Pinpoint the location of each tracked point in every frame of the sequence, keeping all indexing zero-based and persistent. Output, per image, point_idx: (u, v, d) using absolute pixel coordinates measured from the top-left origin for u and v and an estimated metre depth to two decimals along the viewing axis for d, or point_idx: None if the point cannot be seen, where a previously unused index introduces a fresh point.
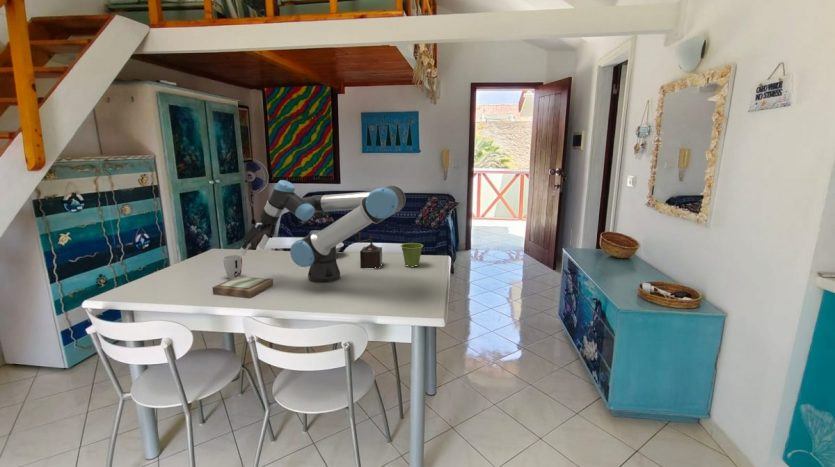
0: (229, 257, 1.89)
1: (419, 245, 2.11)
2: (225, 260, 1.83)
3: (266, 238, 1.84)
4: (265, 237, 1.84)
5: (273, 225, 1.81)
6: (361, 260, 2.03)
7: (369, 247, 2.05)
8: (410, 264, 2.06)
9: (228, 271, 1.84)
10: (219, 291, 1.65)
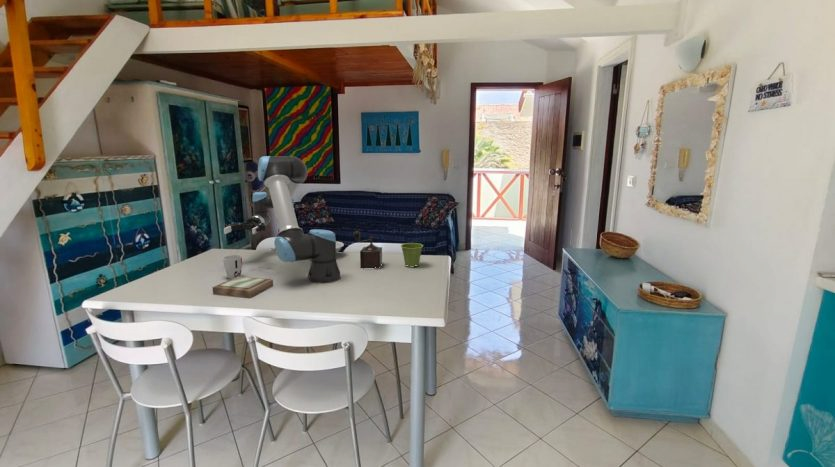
0: (229, 257, 1.89)
1: (419, 245, 2.11)
2: (225, 260, 1.83)
3: None
4: None
5: (261, 225, 2.07)
6: (361, 260, 2.03)
7: (369, 247, 2.05)
8: (410, 264, 2.06)
9: (228, 271, 1.84)
10: (219, 291, 1.65)
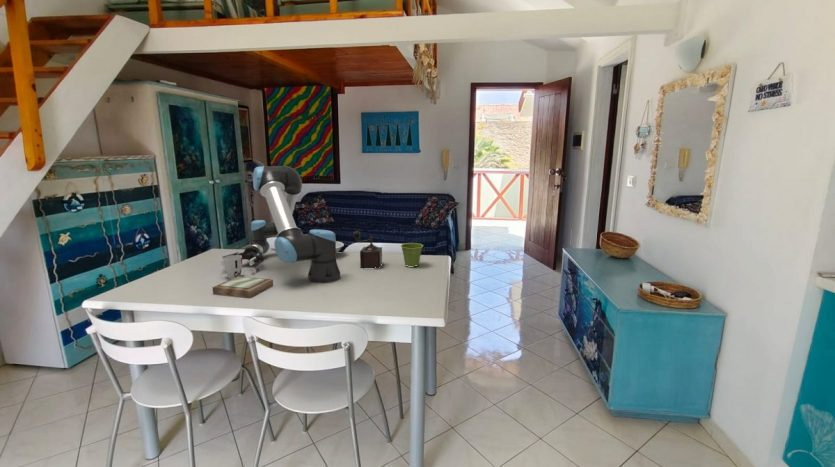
0: (229, 257, 1.89)
1: (419, 245, 2.11)
2: (225, 260, 1.83)
3: None
4: None
5: (259, 254, 2.05)
6: (361, 260, 2.03)
7: (369, 247, 2.05)
8: (410, 264, 2.06)
9: (228, 271, 1.84)
10: (219, 291, 1.65)
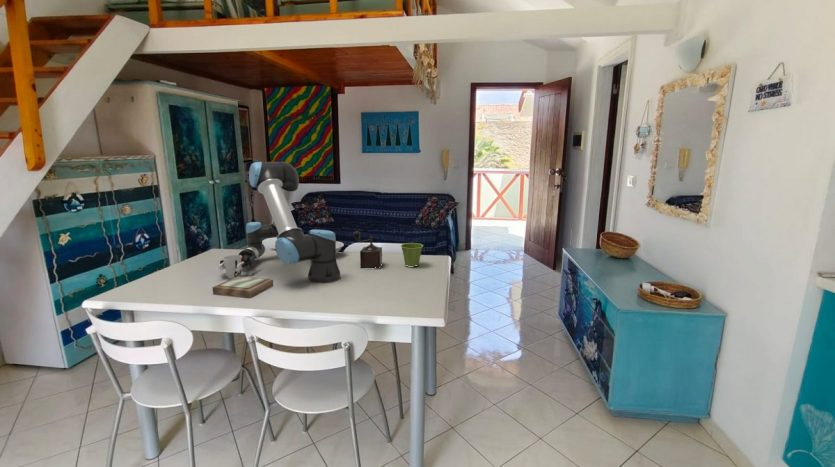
0: (229, 257, 1.89)
1: (419, 245, 2.11)
2: (225, 260, 1.83)
3: None
4: None
5: None
6: (361, 260, 2.03)
7: (369, 247, 2.05)
8: (410, 264, 2.06)
9: (228, 271, 1.84)
10: (219, 291, 1.65)
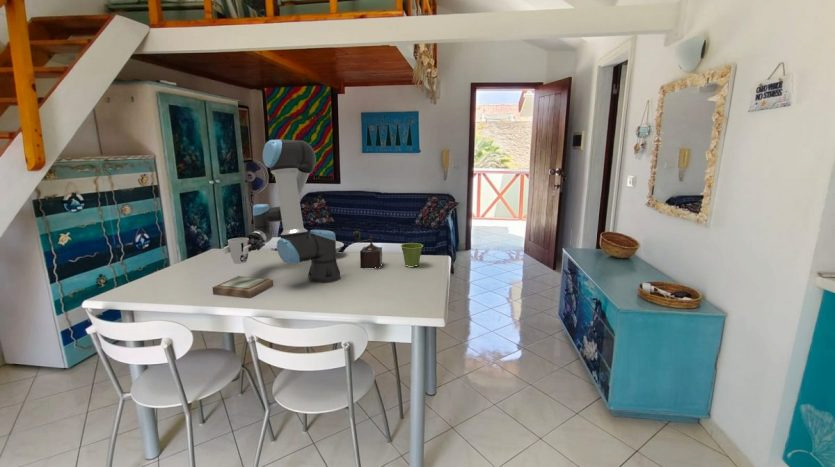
0: (234, 240, 1.72)
1: (419, 245, 2.11)
2: (230, 242, 1.65)
3: None
4: None
5: None
6: (361, 260, 2.03)
7: (369, 247, 2.05)
8: (410, 264, 2.06)
9: (233, 255, 1.67)
10: (219, 291, 1.65)
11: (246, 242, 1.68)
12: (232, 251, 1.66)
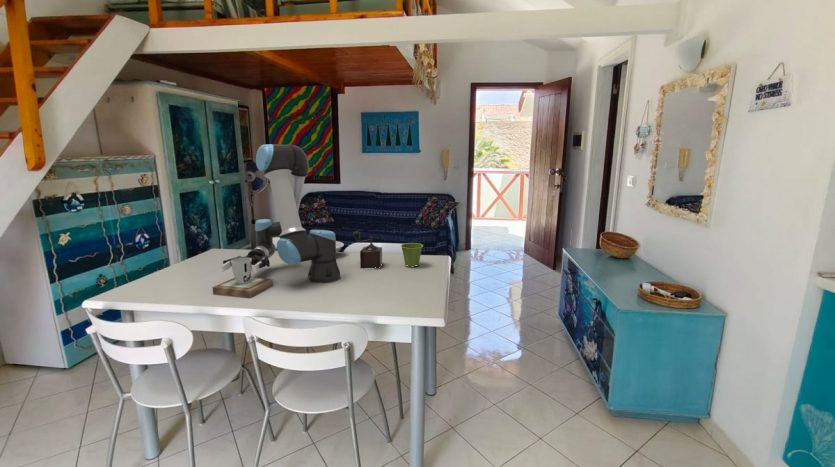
0: (237, 260, 1.72)
1: (419, 245, 2.11)
2: (233, 263, 1.66)
3: None
4: None
5: (264, 258, 1.79)
6: (361, 260, 2.03)
7: (369, 247, 2.05)
8: (410, 264, 2.06)
9: (236, 275, 1.67)
10: (219, 291, 1.65)
11: (249, 262, 1.68)
12: (235, 272, 1.66)
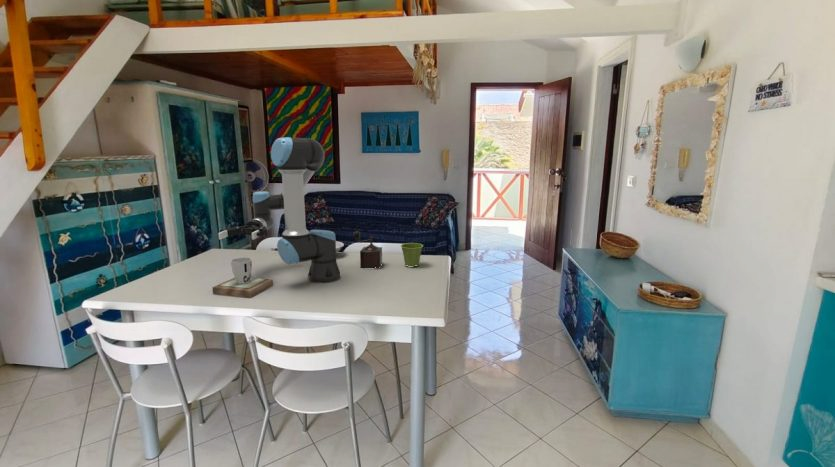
0: (237, 260, 1.72)
1: (419, 245, 2.11)
2: (233, 263, 1.65)
3: None
4: None
5: (262, 228, 1.77)
6: (361, 260, 2.03)
7: (369, 247, 2.05)
8: (410, 264, 2.06)
9: (236, 275, 1.67)
10: (219, 291, 1.65)
11: (249, 262, 1.68)
12: (235, 272, 1.66)
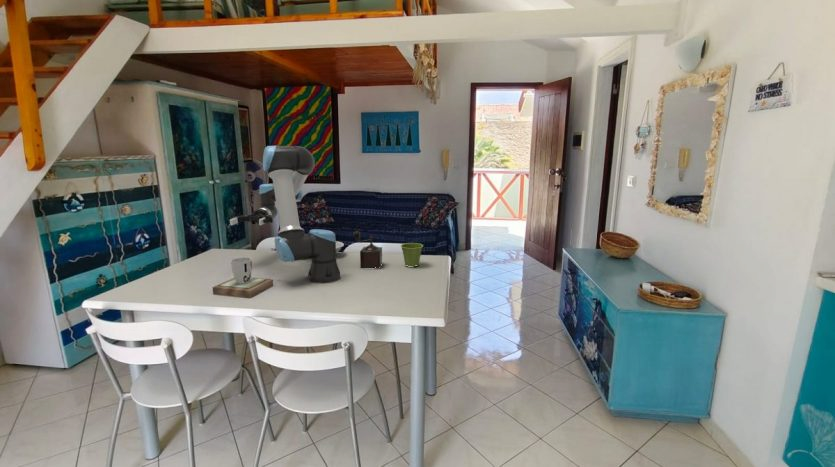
0: (237, 260, 1.72)
1: (419, 245, 2.11)
2: (233, 263, 1.65)
3: None
4: None
5: (268, 216, 2.00)
6: (361, 260, 2.03)
7: (369, 247, 2.05)
8: (410, 264, 2.06)
9: (237, 275, 1.67)
10: (219, 291, 1.65)
11: (249, 262, 1.68)
12: (235, 272, 1.66)
